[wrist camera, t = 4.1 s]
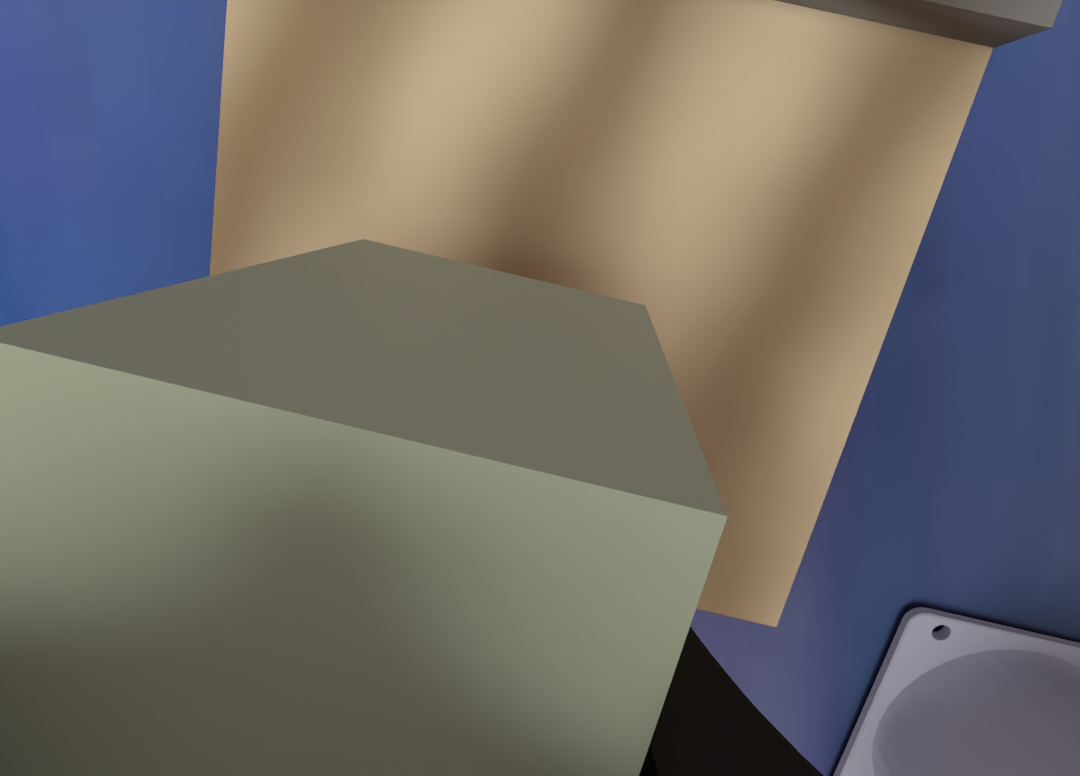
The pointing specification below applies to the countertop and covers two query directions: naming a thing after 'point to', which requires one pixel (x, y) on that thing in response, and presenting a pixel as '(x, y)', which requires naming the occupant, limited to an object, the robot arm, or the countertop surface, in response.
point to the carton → (344, 526)
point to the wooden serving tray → (635, 189)
